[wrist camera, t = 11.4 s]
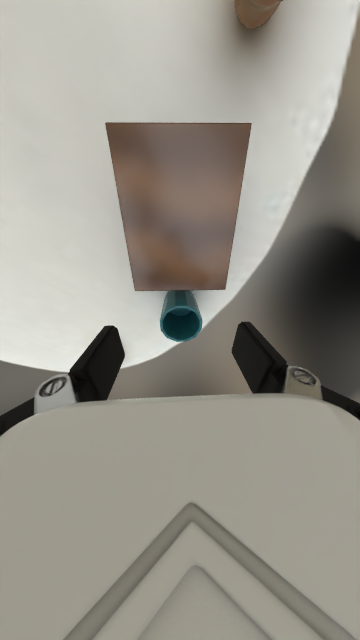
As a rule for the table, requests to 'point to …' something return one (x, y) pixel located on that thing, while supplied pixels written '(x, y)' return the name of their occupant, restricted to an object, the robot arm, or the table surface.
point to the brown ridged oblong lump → (255, 11)
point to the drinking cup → (180, 316)
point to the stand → (179, 200)
